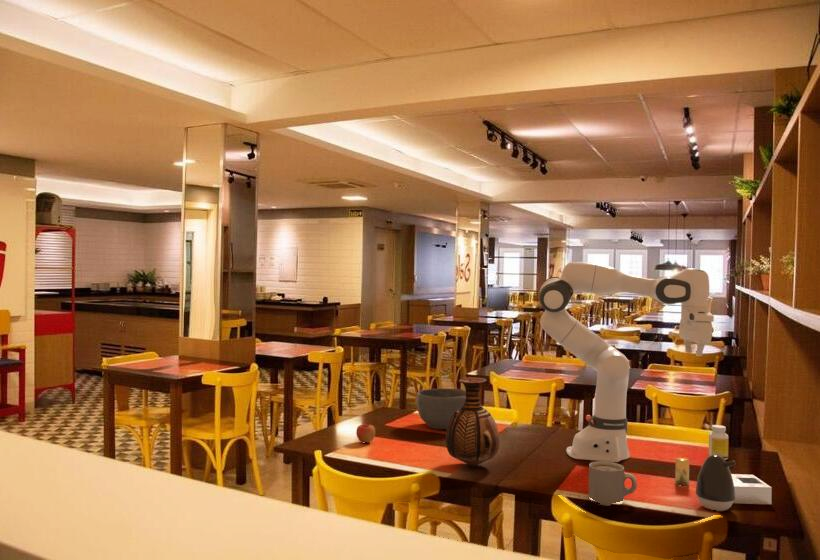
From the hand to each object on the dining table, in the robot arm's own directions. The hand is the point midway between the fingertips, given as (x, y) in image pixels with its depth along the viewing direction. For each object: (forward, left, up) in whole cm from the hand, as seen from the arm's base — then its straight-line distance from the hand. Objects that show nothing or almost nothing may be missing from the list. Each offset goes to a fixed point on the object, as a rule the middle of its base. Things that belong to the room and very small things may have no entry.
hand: (693, 354), depth 231 cm
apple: (-117, +18, -39) cm, 125 cm away
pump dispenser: (-9, -43, -39) cm, 59 cm away
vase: (-77, -9, -39) cm, 87 cm away
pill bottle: (+13, +10, -39) cm, 42 cm away
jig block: (+2, -32, -39) cm, 51 cm away
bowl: (-87, +47, -39) cm, 106 cm away
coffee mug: (-37, -39, -39) cm, 67 cm away
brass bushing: (-11, -22, -39) cm, 46 cm away
